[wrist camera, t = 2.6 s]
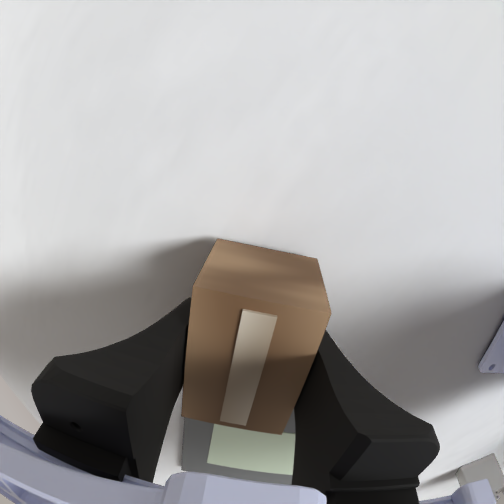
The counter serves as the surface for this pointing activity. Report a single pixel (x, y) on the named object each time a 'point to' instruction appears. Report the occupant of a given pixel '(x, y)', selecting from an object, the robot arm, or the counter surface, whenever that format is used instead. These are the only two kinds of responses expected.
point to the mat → (239, 452)
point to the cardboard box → (252, 336)
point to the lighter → (483, 474)
